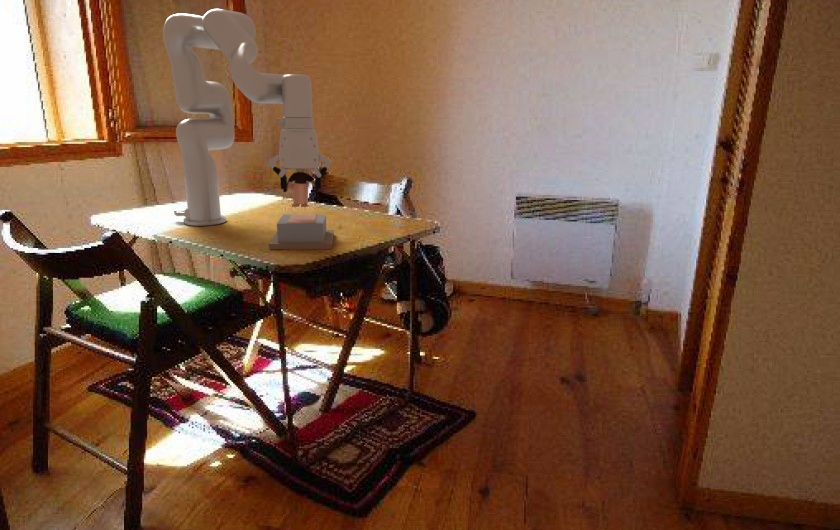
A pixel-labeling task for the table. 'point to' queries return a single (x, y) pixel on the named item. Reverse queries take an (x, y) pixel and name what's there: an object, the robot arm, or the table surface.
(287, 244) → the plinth
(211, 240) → the table surface
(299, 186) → the grandmother figurine
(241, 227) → the table surface
